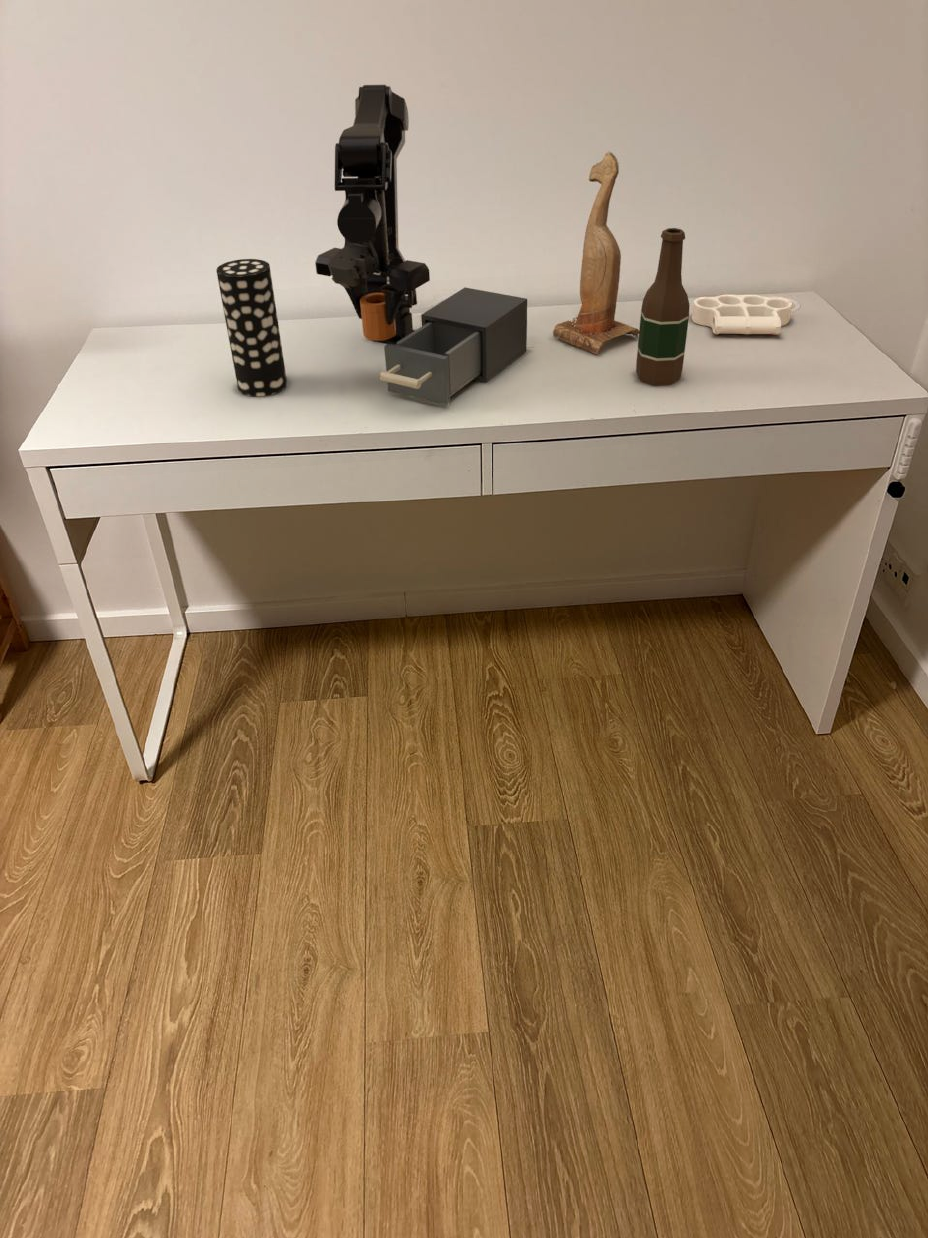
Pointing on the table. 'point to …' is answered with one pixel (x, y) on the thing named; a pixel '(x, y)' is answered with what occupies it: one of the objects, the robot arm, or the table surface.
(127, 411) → the table surface
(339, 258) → the robot arm
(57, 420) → the table surface
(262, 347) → the spotted tube
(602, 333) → the bird sculpture
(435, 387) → the drawer
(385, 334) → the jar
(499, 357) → the cabinet
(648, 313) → the beer bottle
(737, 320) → the white brass knuckles
